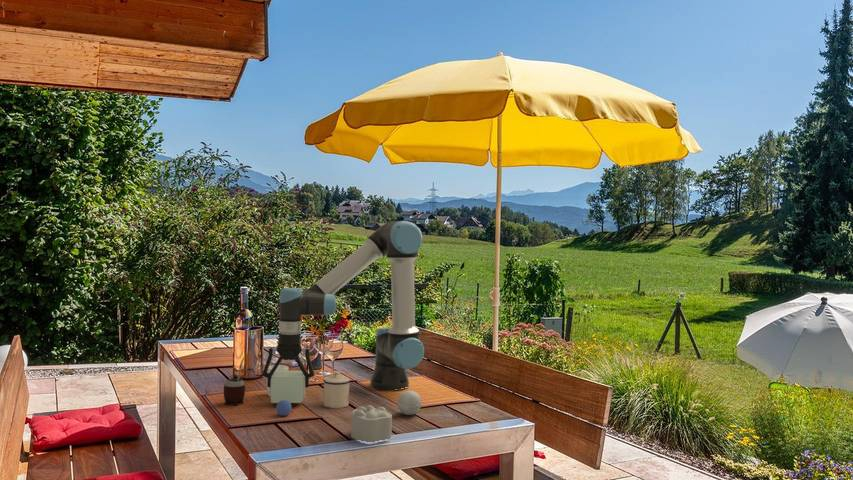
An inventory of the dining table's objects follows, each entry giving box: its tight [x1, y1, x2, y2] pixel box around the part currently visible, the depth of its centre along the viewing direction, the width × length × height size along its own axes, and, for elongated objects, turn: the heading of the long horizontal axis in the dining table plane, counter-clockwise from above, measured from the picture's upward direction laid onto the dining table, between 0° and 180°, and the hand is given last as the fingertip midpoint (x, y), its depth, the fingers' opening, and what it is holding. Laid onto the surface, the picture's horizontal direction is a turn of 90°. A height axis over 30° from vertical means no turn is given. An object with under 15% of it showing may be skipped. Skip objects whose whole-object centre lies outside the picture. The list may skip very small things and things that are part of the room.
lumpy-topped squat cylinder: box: [350, 404, 393, 442], centre depth 196 cm, size 10×13×9 cm
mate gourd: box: [223, 356, 246, 407], centre depth 227 cm, size 8×8×15 cm
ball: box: [275, 400, 293, 417], centre depth 214 cm, size 5×5×5 cm
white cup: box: [266, 364, 290, 397], centre depth 240 cm, size 8×8×10 cm
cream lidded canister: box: [323, 370, 351, 409], centre depth 230 cm, size 12×9×12 cm
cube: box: [270, 369, 305, 404], centre depth 228 cm, size 10×10×9 cm
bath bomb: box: [397, 390, 422, 416], centre depth 220 cm, size 8×8×8 cm
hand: (287, 396), depth 229 cm, fingers closed on cube, 10 cm apart
